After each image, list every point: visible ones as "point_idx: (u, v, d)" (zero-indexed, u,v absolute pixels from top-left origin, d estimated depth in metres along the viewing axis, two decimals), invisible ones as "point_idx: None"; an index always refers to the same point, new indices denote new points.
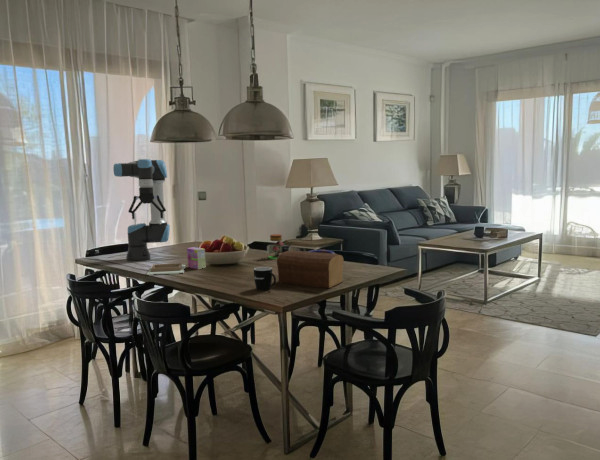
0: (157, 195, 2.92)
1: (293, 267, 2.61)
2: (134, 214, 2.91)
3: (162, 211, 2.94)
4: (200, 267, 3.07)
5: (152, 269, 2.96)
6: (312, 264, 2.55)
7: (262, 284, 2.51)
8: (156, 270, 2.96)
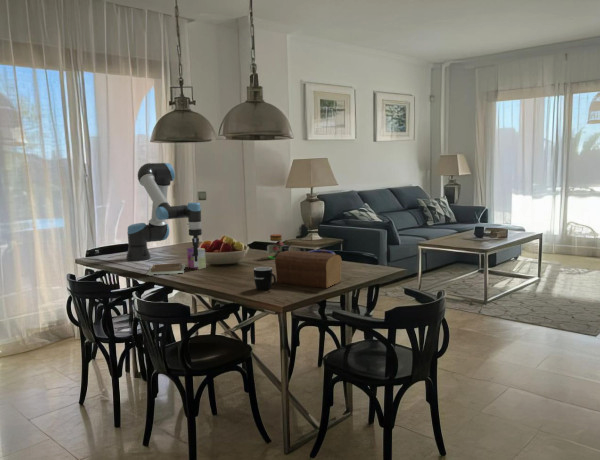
0: (193, 238, 3.03)
1: (291, 267, 2.61)
2: None
3: (194, 255, 3.03)
4: (200, 267, 3.07)
5: (152, 269, 2.96)
6: (310, 263, 2.55)
7: (262, 284, 2.51)
8: (156, 270, 2.96)
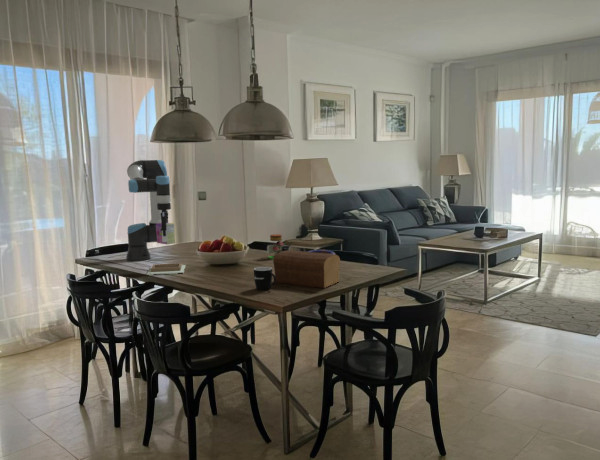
0: (161, 212, 2.93)
1: (289, 267, 2.62)
2: None
3: None
4: (169, 242, 2.97)
5: (152, 269, 2.96)
6: (308, 263, 2.56)
7: (262, 284, 2.51)
8: (156, 270, 2.96)
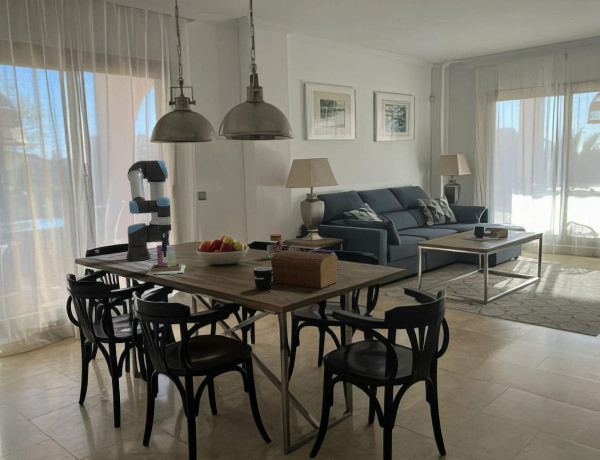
0: (161, 233, 2.95)
1: (286, 267, 2.62)
2: None
3: None
4: (170, 265, 2.99)
5: (152, 269, 2.96)
6: (305, 263, 2.56)
7: (262, 284, 2.51)
8: (156, 270, 2.96)
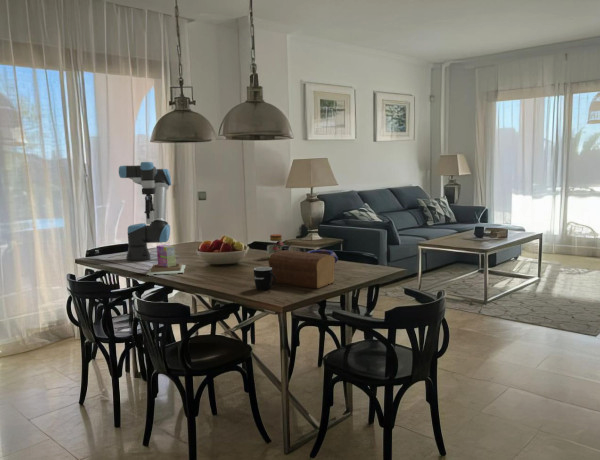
0: (145, 196, 3.07)
1: (283, 267, 2.62)
2: None
3: None
4: (170, 265, 2.99)
5: (152, 269, 2.96)
6: (301, 264, 2.56)
7: (262, 284, 2.51)
8: (156, 270, 2.96)
